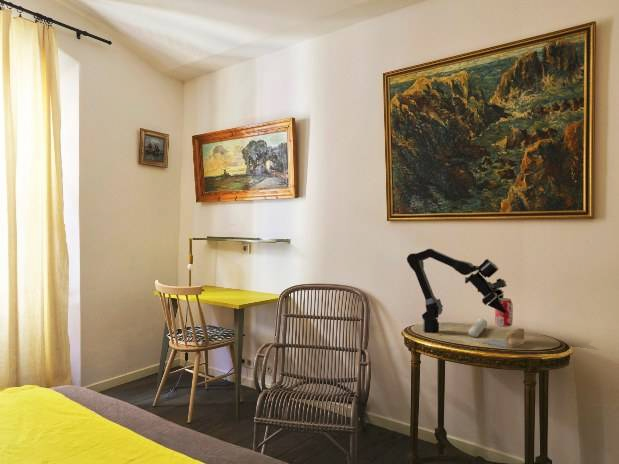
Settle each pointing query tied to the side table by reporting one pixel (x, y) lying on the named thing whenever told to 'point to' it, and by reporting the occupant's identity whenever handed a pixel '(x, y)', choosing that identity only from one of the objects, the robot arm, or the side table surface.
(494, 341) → the mat
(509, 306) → the soda can
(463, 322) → the side table surface
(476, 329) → the tube
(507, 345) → the backstop
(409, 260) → the robot arm
